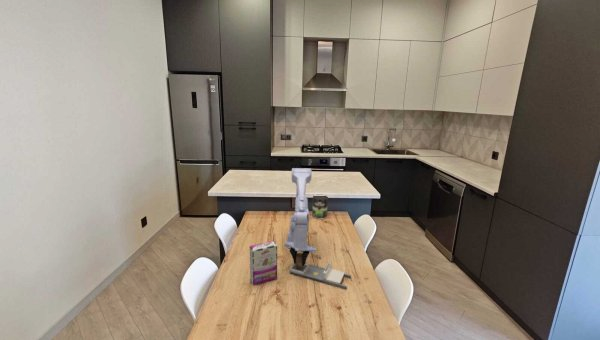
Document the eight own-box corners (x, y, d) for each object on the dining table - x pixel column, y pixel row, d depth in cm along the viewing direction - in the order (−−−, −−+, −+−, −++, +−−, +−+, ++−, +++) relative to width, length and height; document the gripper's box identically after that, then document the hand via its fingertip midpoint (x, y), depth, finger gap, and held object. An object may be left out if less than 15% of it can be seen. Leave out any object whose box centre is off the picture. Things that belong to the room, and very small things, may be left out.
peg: (294, 267, 129) (294, 256, 127) (297, 263, 132) (298, 252, 131) (301, 269, 127) (302, 258, 126) (304, 265, 131) (305, 254, 129)
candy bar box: (273, 272, 128) (273, 240, 124) (277, 279, 124) (278, 245, 120) (249, 279, 123) (249, 245, 119) (253, 285, 119) (252, 250, 115)
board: (288, 273, 128) (289, 269, 128) (296, 263, 136) (296, 259, 136) (346, 289, 119) (346, 285, 118) (350, 277, 127) (351, 273, 126)
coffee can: (326, 220, 188) (327, 200, 184) (311, 218, 189) (312, 198, 186) (327, 214, 198) (328, 195, 194) (312, 212, 199) (313, 193, 196)
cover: (322, 280, 122) (323, 271, 121) (328, 269, 130) (328, 261, 129) (339, 284, 120) (340, 275, 119) (344, 273, 127) (345, 265, 126)
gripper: (282, 237, 125) (281, 264, 128) (312, 244, 120) (311, 272, 123) (288, 230, 131) (287, 256, 135) (318, 237, 126) (316, 264, 129)
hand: (299, 263), depth 129 cm, fingers closed on peg, 3 cm apart
